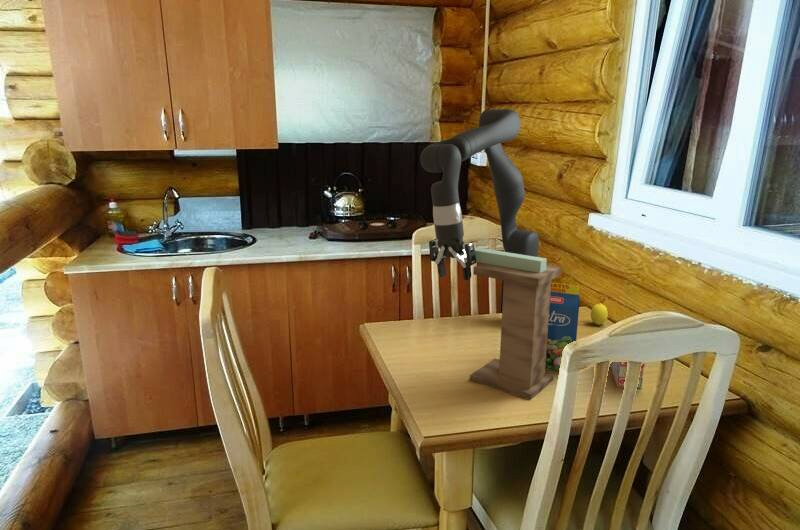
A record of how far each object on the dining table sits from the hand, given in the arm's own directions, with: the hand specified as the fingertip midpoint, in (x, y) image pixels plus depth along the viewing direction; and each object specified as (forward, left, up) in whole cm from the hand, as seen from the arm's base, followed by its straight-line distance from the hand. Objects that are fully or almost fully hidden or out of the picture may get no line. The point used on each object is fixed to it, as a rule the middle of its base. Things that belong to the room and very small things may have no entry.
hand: (454, 277), depth 154 cm
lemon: (-60, +21, -27) cm, 69 cm away
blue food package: (-19, +22, -27) cm, 40 cm away
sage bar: (-3, +11, +5) cm, 13 cm away
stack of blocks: (-29, +39, -27) cm, 55 cm away
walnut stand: (-3, +17, -27) cm, 32 cm away
